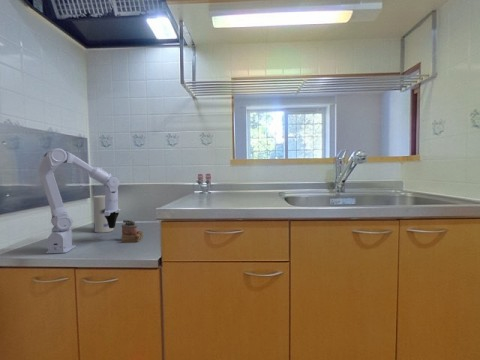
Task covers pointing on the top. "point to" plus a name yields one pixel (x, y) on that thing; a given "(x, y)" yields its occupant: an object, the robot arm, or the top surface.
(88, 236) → the top surface
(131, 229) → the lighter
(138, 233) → the lighter dock
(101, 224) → the container
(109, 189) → the robot arm
